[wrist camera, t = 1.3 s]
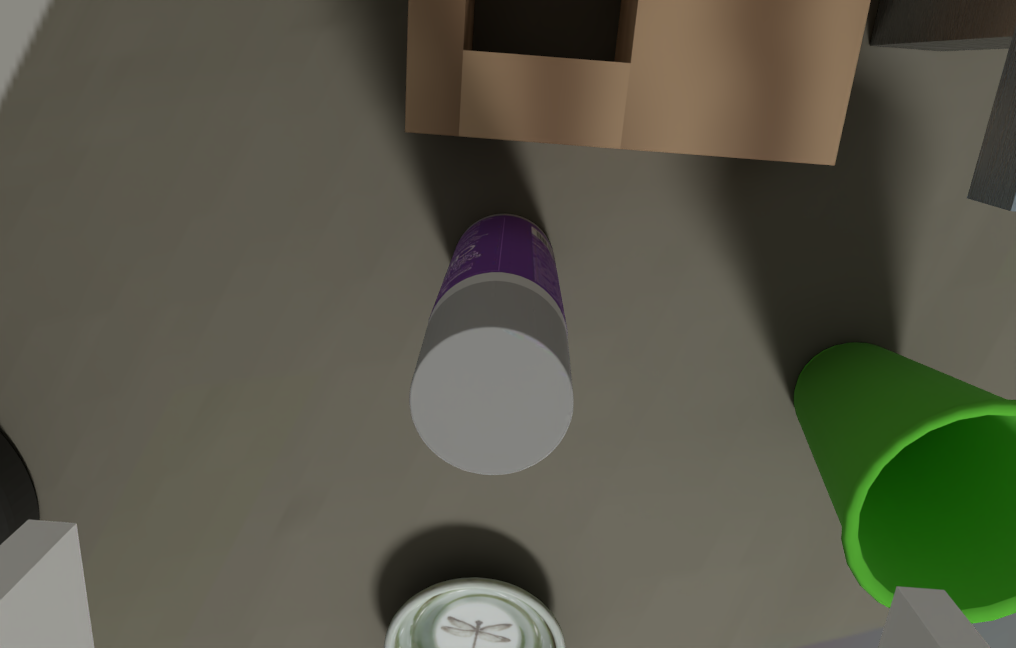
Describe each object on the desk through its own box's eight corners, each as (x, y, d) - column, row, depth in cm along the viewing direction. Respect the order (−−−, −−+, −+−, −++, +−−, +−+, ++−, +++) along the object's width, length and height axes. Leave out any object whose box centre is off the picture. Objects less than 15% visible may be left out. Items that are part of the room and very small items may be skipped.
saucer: (398, 693, 43) (391, 728, 40) (383, 553, 40) (375, 583, 37) (564, 691, 42) (566, 727, 40) (563, 551, 39) (565, 581, 37)
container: (465, 201, 33) (422, 302, 19) (566, 226, 33) (599, 343, 19) (444, 298, 34) (389, 459, 20) (540, 321, 35) (553, 495, 21)
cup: (974, 400, 36) (1160, 537, 25) (814, 502, 38) (925, 667, 27) (879, 262, 33) (1040, 349, 23) (714, 377, 36) (794, 505, 25)
